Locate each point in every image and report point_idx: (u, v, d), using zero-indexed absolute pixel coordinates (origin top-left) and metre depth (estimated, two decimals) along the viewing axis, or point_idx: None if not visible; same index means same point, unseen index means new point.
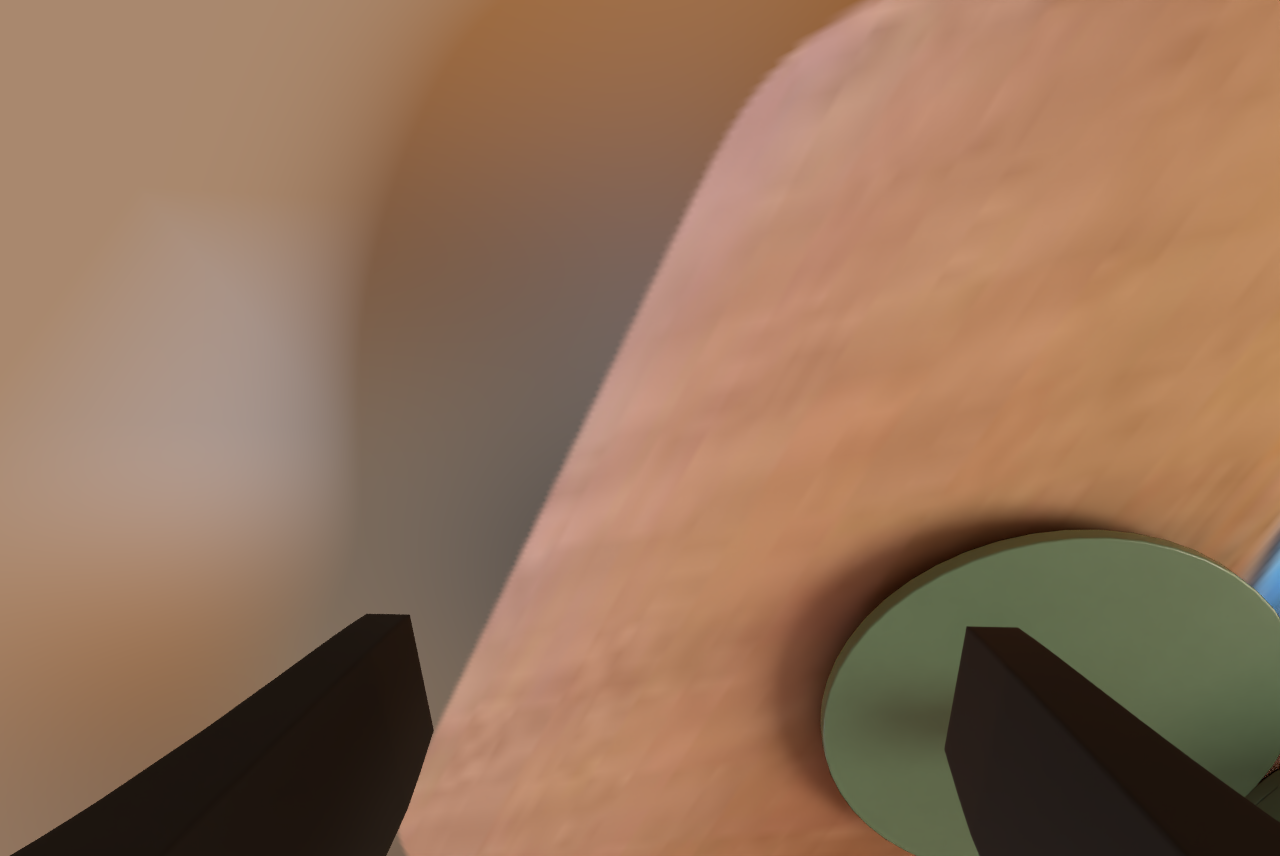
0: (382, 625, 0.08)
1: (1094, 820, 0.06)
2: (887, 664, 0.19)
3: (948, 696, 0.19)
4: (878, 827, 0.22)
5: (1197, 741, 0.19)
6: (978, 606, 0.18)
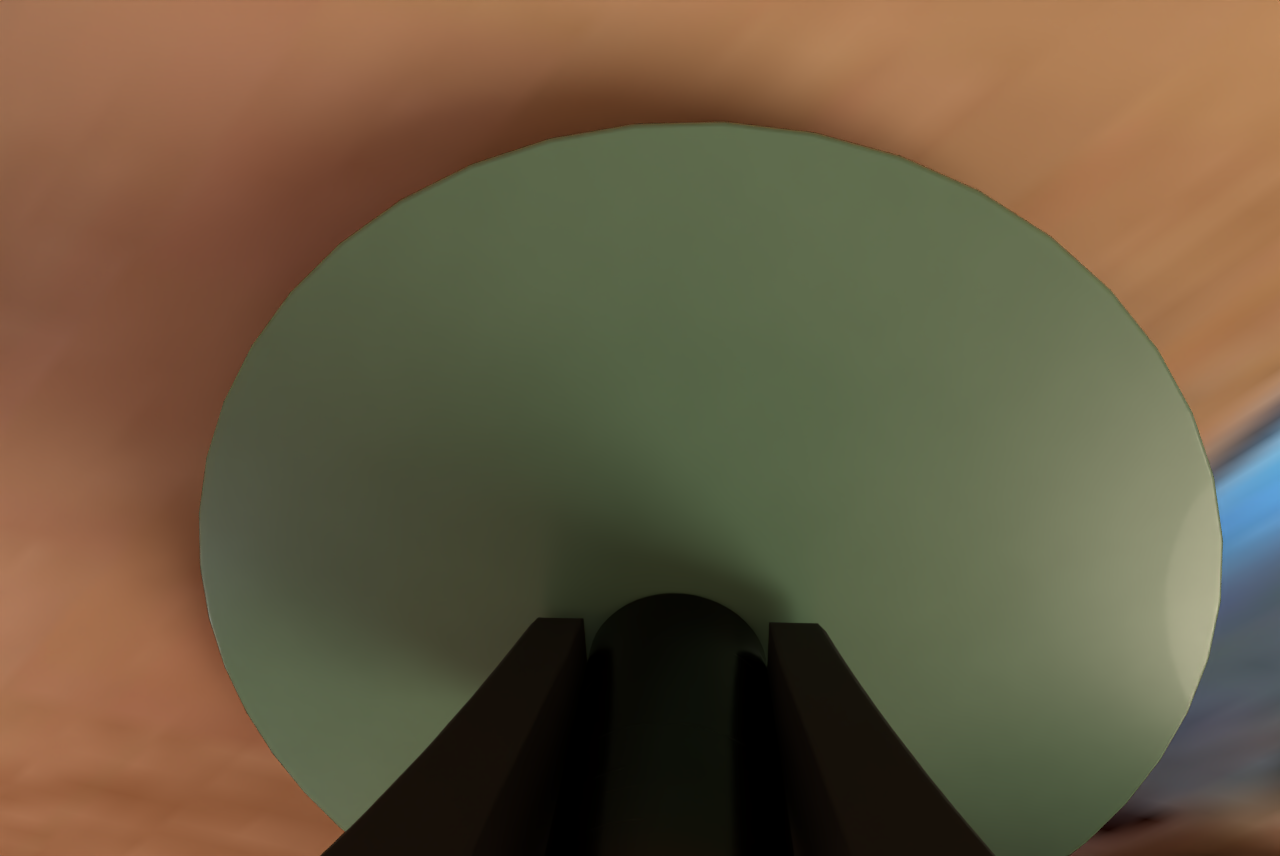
0: (564, 630, 0.08)
1: (813, 807, 0.06)
2: (368, 371, 0.08)
3: (490, 510, 0.08)
4: (292, 764, 0.10)
5: (941, 783, 0.09)
6: (613, 279, 0.07)
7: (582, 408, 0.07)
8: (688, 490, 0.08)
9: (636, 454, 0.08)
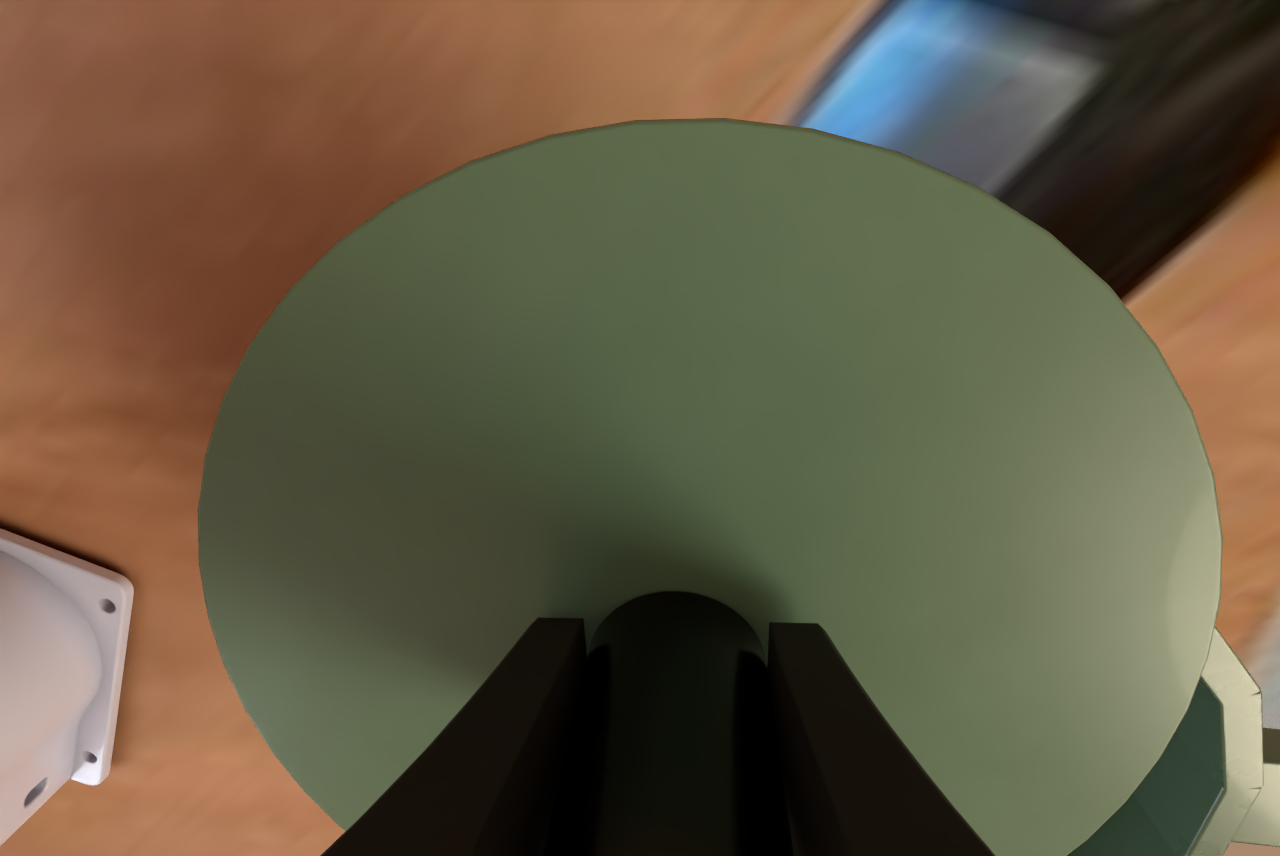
0: (564, 629, 0.08)
1: (813, 807, 0.06)
2: (366, 368, 0.08)
3: (489, 507, 0.08)
4: (291, 762, 0.10)
5: (941, 781, 0.09)
6: (612, 276, 0.07)
7: (581, 405, 0.07)
8: (687, 488, 0.08)
9: (635, 451, 0.08)
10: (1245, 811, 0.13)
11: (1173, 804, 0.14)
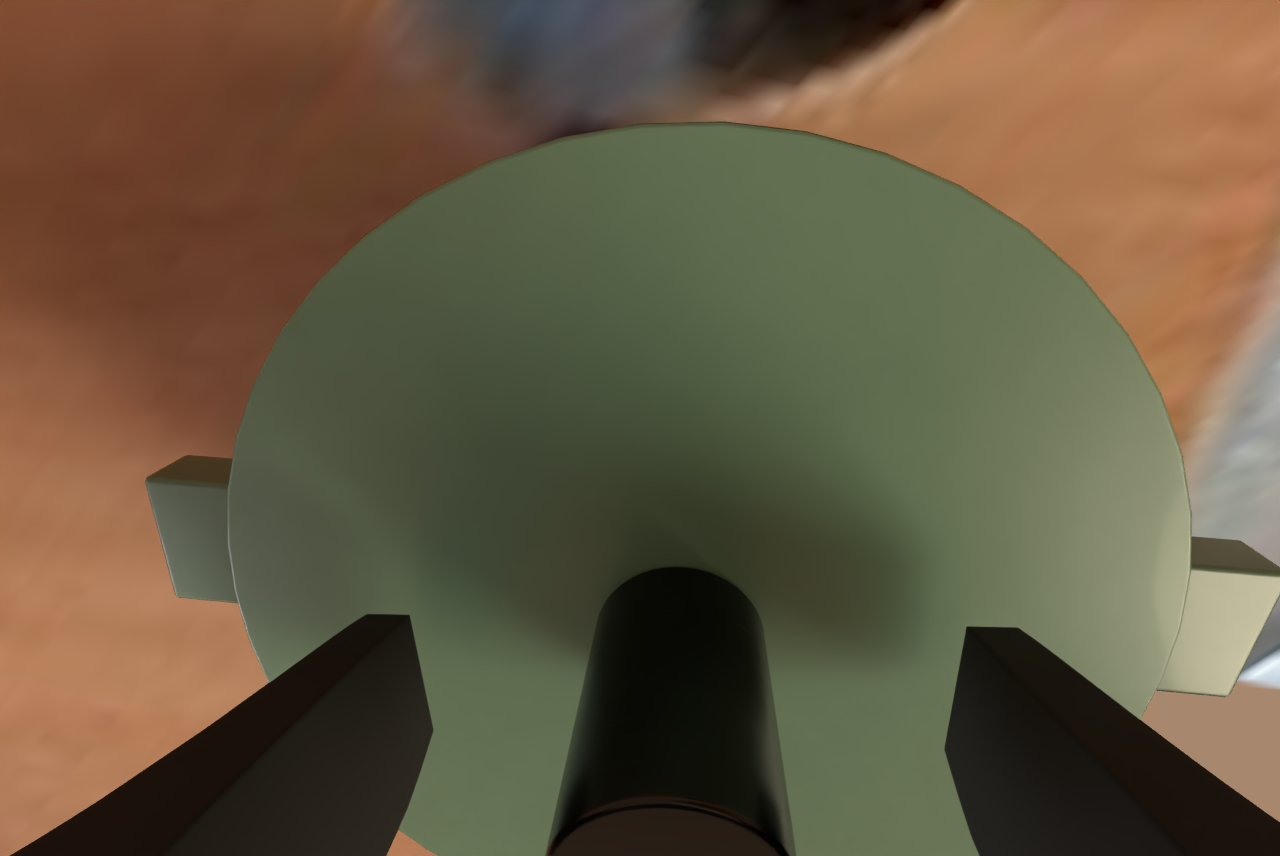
0: (382, 625, 0.08)
1: (1095, 820, 0.05)
2: (389, 355, 0.08)
3: (503, 487, 0.09)
4: None
5: (930, 749, 0.10)
6: (620, 269, 0.07)
7: (590, 390, 0.08)
8: (690, 468, 0.08)
9: (641, 434, 0.08)
10: None
11: None
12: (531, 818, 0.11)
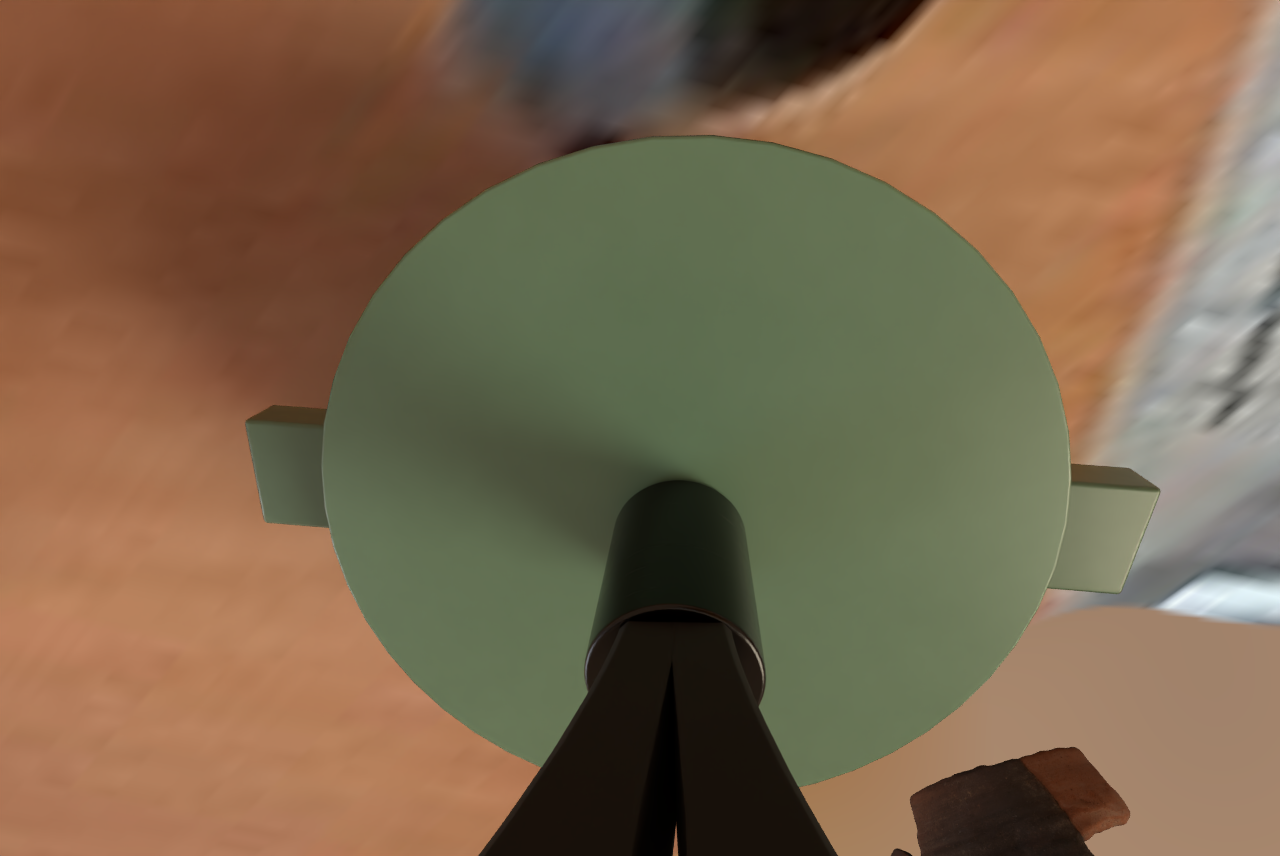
0: (659, 632, 0.08)
1: (681, 801, 0.06)
2: (457, 312, 0.10)
3: (542, 417, 0.11)
4: (380, 628, 0.13)
5: (878, 631, 0.12)
6: (635, 245, 0.10)
7: (611, 339, 0.10)
8: (687, 400, 0.11)
9: (650, 373, 0.11)
10: None
11: None
12: (558, 699, 0.13)
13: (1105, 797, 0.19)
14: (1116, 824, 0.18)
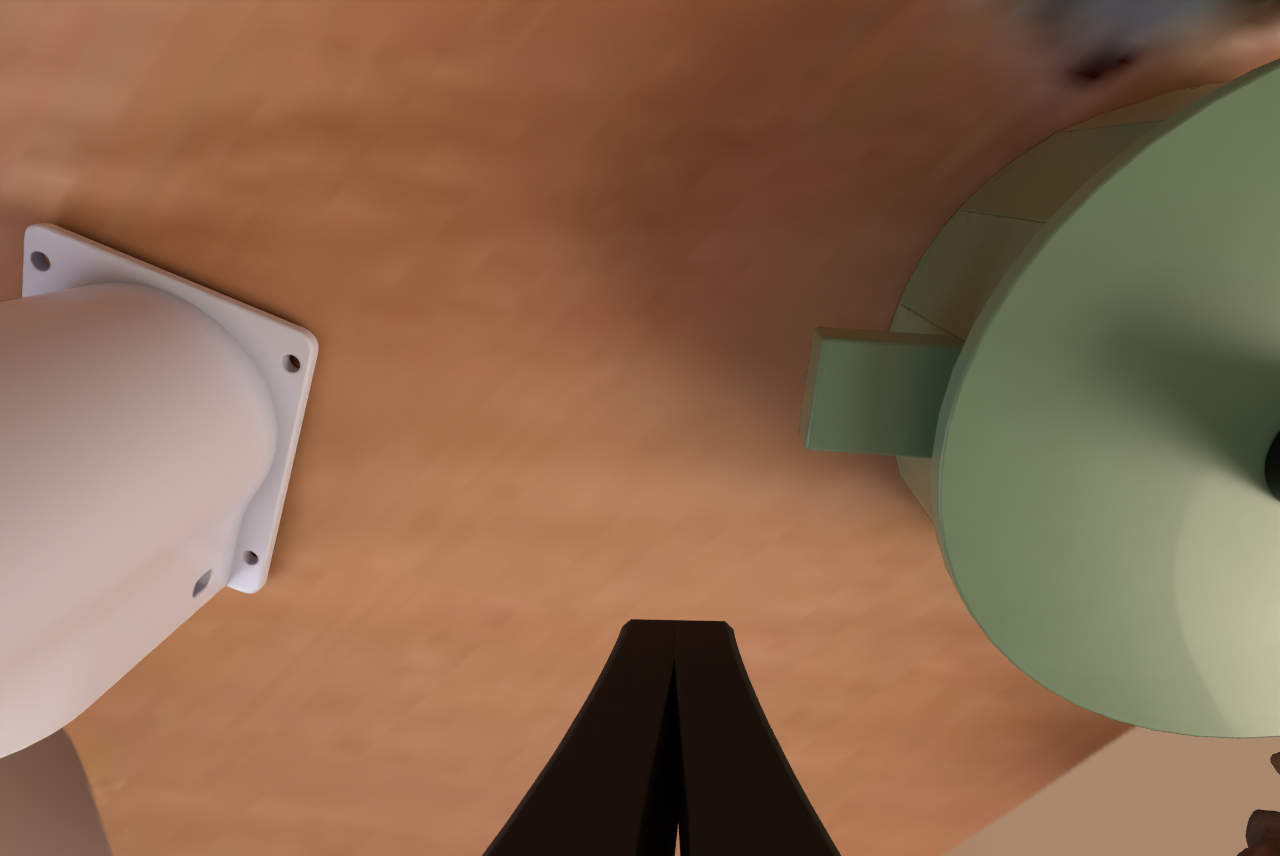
0: (662, 632, 0.08)
1: (684, 801, 0.06)
2: (1188, 204, 0.10)
3: (1237, 320, 0.11)
4: (959, 555, 0.13)
5: None
6: None
7: None
8: None
9: None
10: None
11: None
12: (1128, 630, 0.13)
13: None
14: None
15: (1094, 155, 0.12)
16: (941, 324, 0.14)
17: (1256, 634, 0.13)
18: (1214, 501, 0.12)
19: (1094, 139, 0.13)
